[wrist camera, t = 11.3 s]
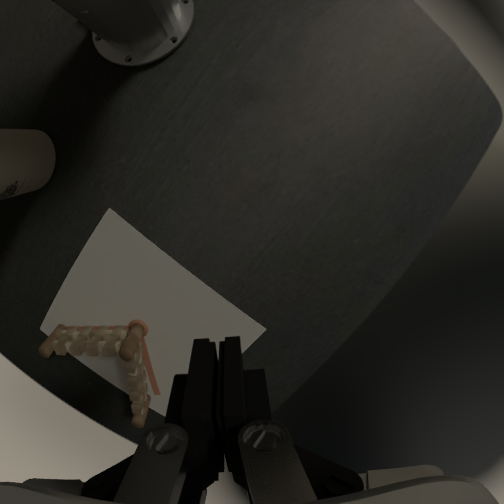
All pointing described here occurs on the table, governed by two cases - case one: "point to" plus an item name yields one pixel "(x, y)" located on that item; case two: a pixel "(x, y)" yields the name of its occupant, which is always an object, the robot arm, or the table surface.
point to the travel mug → (24, 161)
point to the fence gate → (138, 387)
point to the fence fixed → (93, 341)
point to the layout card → (143, 306)
